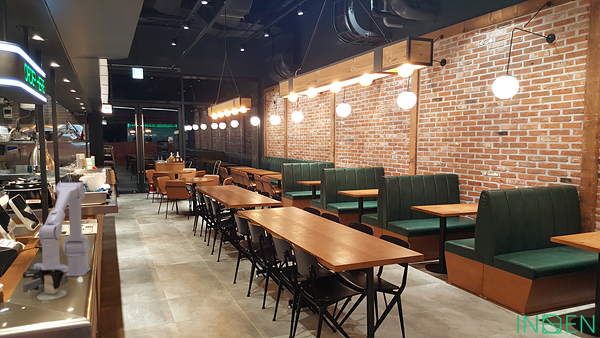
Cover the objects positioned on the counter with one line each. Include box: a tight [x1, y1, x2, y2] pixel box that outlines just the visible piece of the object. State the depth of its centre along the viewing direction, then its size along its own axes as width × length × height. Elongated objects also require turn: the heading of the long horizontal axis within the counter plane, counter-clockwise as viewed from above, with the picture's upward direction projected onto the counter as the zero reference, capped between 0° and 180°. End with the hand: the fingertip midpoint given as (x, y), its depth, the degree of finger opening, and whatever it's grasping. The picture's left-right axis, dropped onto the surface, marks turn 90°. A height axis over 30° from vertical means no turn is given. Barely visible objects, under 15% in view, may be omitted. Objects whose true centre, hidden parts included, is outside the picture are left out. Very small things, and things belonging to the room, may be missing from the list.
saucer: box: [36, 289, 68, 302], centre depth 156 cm, size 10×10×1 cm
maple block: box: [44, 273, 62, 294], centre depth 156 cm, size 4×4×7 cm
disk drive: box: [22, 262, 54, 279], centre depth 183 cm, size 10×3×15 cm
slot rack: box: [22, 274, 68, 294], centre depth 166 cm, size 14×8×3 cm, turn 169°
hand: (51, 287), depth 156 cm, fingers closed on maple block, 4 cm apart
